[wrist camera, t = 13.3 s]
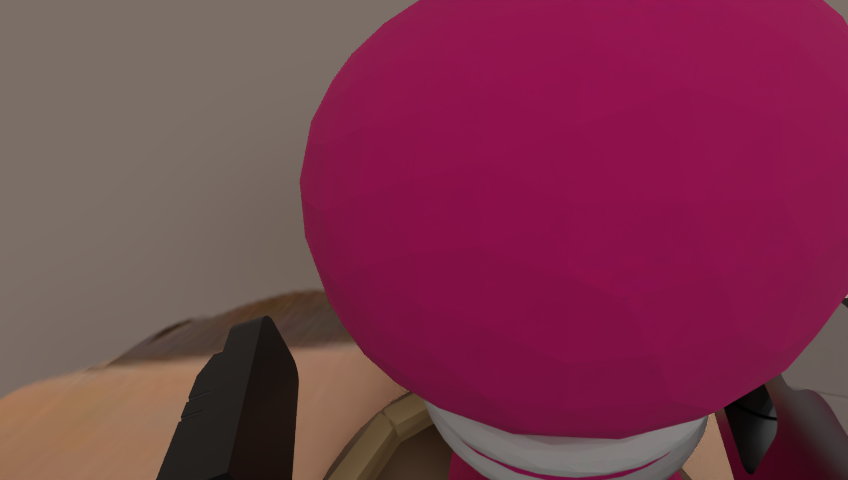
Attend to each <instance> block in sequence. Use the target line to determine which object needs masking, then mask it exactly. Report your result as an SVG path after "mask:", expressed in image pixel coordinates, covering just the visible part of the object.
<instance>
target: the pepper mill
mask: <svg viewBox="0 0 848 480" xmlns="http://www.w3.org/2000/svg"><path fill="white" fill-rule="evenodd" d="M300 189H301V199H302V209H303V219H304V229H305V237H306V240H307V243H308V245H309V248H310V251H311V254H312V256H313V259H314V262H315V265H316V267H317V270H318V273H319V275H320V278H321V281H322V284H323V286H324V289H325V292H326V295H327V297H328V300H329V303H330V304H331V306H332V308H333V309H334V311H335V312H336V314H337V315H338V317H339V319H340V320H341V322H342V323H343V325H344V326H345V328H346V329H347V331H348V332H349V333H350V335H351V336H352V338H353V339H354V340H355V342H356V343H357V345H358V346H359V347H360V349H361V350H362V352H363V353H364V355H366V356H367V357H368V358H369V359H370V360H371V361H372V362H374V363H375V364H376V365H377V366H378V367H379V368H380V369H381V370H383V371H384V372H385V373H386V374H387V375H388V376H389V377H390V378H392V379H393V380H394V381H395V382H396V383H397V384H399V385H401V386H402V387H404V388H406V389H407V390H409V391H411V392H412V393H414V394H416V395H418V396H419V397H421V398H422V399H423V400H424V403H425V405H426V407H427V410H428V412H429V415H430V417H431V419H432V421H433V423H434V424H435V426H436V427H437V429H438V431H439V432H440V434H441V436H442V437H443V439H444V440H445V441H446V442H447V444H448V445H449V446H450V447H451V448H452V450H453V453H452V456H451V463H450V469H449V476H448V480H683V479H682V477H681V475H680V473H679V471H678V470H679V469H680V468H681V467H682V466H683V465H684V463H685V462H686V461H687V459H688V458H689V457H690V455H691V454H692V452H693V451H694V449H695V448H696V446H697V444H698V443H699V441H700V439H701V438H702V436H703V434H704V431H705V428H706V425H707V420H708V415H710V414H712V413H714V412H716V411H718V410H720V409H722V408H723V407H725V406H727V405H729V404H730V403H732V402H734V401H735V400H737V399H739V398H741V397H742V396H744V395H746V394H747V393H749V392H751V391H752V390H754V389H756V388H757V387H759V386H761V385H762V384H764V383H766V382H767V381H769V380H771V379H772V378H774V377H775V376H777V375H779V374H780V373H782V372H784V371H785V370H787V369H788V368H789V366H790V365H791V364H792V363H793V362H794V361H795V360H796V358H797V357H798V356H799V355H800V354H801V353H802V352H803V351H804V349H805V348H806V347H807V346H808V345H809V344H810V343H811V341H812V340H813V339H814V338H815V337H816V336H817V334H818V333H819V332H820V330H821V329H822V328H823V326H824V325H825V324H826V322H827V321H828V320H829V318H830V317H831V316H832V314H833V313H834V312H835V310H836V309H837V308H838V306H839V305H840V303H841V302H842V301H843V299H844V298H845V297H846V295H847V294H848V25H847V24H846V22H845V20H844V19H843V17H842V16H841V15H840V14H838V13H837V12H836V11H835V10H834V9H833V8H831V7H830V6H829V5H828V4H827V3H826V2H824V1H823V0H419V1H418V2H416V3H414V4H413V5H411V6H410V7H408V8H407V9H405V10H404V11H402V12H401V13H399V14H398V15H396V16H395V17H393V18H392V19H390V20H389V21H387V22H386V23H384V24H383V25H382V26H381V27H380V28H379V29H378V30H377V31H376V32H375V33H374V34H373V35H372V36H371V37H369V39H367V40H366V41H365V42H364V43H363V44H362V45H361V46H360V47H359V48H358V49H357V50H356V51H355V52H354V53H353V54H352V55H351V56H350V58H349V59H348V60H347V62H346V63H345V64H344V65H343V67H342V68H341V70H340V71H339V72H338V74H337V75H336V77H335V78H334V79H333V81H332V83H331V84H330V86H329V88H328V90H327V92H326V94H325V96H324V98H323V100H322V102H321V104H320V106H319V108H318V110H317V112H316V113H315V115H314V117H313V120H312V121H311V126H310V130H309V136H308V141H307V146H306V151H305V156H304V162H303V167H302V172H301V177H300Z"/></svg>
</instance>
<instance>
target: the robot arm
mask: <svg viewBox="0 0 848 480" xmlns="http://www.w3.org/2000/svg"><path fill="white" fill-rule="evenodd" d="M298 387H299V378H298V371H297V367H296V364H295V361H294V359H293V357H292V355H291V353H290V351H289V349H288V347H287V346H286V344H285V342H284V340H283V338H282V337H281V335H280V333H279V331H278V329H277V328H276V326H275V324H274V322H273V320H272V319H271V318H270V317H269V316H263V317H260V318H257V319H253V320H250V321H247V322H244V323H240V324H237V325H234V326H233V327H232V328H231V330H230V332H229V335H228V338H227V341H226V344H225V347H224V350H223V352H221V353H217V354H214V355H213V356H212V358H211V359H210V360H209V361H208V363H207V364H206V365H205V366H204V368H203V369H202V370H201V371H200V373H199V374H198V375H197V377H196V380H195V382H194V385H193V387H192V390H191V392H190V395H189V397H188V398H189V402H187V403H186V405H185V408H184V410H183V413H182V415H181V419H182V420H181V422H179V423H178V425H177V428H176V430H175V433H174V435H173V438H172V441H171V443H170V446H169V448H168V451H167V453H166V456H165V458H164V461H163V463H162V466H161V468H160V471H159V473H158V476H157V479H156V480H292V472H293V458H294V444H295V430H296V416H297V402H298ZM714 413H715V417H716V420H717V423H718V427H719V430H720V433H721V437H722V440H723V443H724V447H725V450H726V453H727V457H728V460H729V463H730V467H731V470H732V473H733V477H734V480H848V298H844V299H843V301H842V302H841V303H840V305H839V306H838V308H837V309H836V310H835V312H834V313H833V314H832V316H831V317H830V318H829V320H828V321H827V322H826V324H825V325H824V326H823V328H822V329H821V330H820V332H819V333H818V334H817V336H816V337H815V338H814V339H813V340H812V341H811V343H810V344H809V345H808V346H807V347H806V348H805V349H804V351H803V352H802V353H801V354H800V355H799V356H798V357H797V358H796V360H795V361H794V362H793V363H792V364H791V365H790V366H789V368H788V369H787V370H785V371H784V372H782V373H780V374H779V375H777V376H775V377H774V378H772V379H771V380H769V381H767V382H766V383H764V384H762V385H761V386H759V387H757V388H756V389H754V390H752V391H751V392H749V393H747V394H746V395H744V396H742V397H741V398H739V399H737V400H735V401H734V402H732V403H730V404H729V405H727V406H725V407H723V408H722V409H720V410H718V411H716V412H714Z"/></svg>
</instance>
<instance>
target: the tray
mask: <svg viewBox="0 0 848 480" xmlns="http://www.w3.org/2000/svg"><path fill="white" fill-rule="evenodd" d="M452 453H453V450H452V448H451V447H450V446H449V445H448V444H447V442H446V441H445V440H444V439H443V437H442V436H441V434H440V432H439V431H438V429H437V427H436V426H435V424H434V423H433V421H432V419H431V417H430V415H429V412H428V410H427V407H426V405H425V403H424V400H423V399H422V398H421V397H419V396H418V395H416V394H414V393H412V392H411V391H409V392H408V393H406V394H404V395H403V396H401V397H399V398H398V399H396V400H394V401H393V402H392V403H390V404H389V405H388V406H386V407H385V408H384V409H382V410H381V411H380V412H378V413H377V414H376V415H375V416H374V417H373V418H372V419H371V420H370V421H369V422H368V423H366V424H365V425H364V426H363V427H362V428H361V429H360V430H359V431H358V433H357V434H356V435H355V436H354V437H353V438H352V439H351V441H350V442H349V443H348V444H347V445H346V446H345V448H344V449H343V450H342V452H341V453H340V455H339V456H338V457H337V459H336V460H335V462H334V463H333V464H332V466H331V467H330V469H329V470H328V472H327V474H326V476H325V477H324V479H323V480H448V476H449V469H450V463H451V456H452ZM678 471H679V473H680V475H681V477H682V479H683V480H692V479H691V478H690V477H689V476H688V475H687V473H686V472H685V471H684V470H683V469H682V468H680V469H679V470H678Z"/></svg>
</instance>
